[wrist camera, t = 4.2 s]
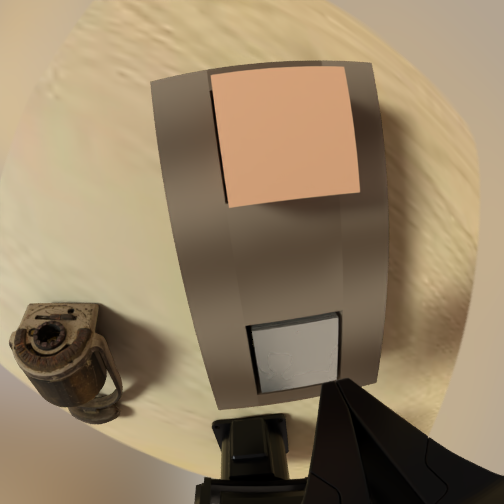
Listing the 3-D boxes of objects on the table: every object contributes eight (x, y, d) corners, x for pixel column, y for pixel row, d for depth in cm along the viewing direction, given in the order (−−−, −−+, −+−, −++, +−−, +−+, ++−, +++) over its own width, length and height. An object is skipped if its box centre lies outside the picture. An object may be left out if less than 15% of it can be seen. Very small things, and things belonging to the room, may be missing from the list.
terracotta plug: (321, 181, 14) (360, 192, 9) (231, 192, 14) (229, 207, 9) (310, 94, 13) (344, 66, 8) (219, 102, 13) (210, 75, 8)
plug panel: (352, 340, 21) (376, 382, 16) (221, 361, 21) (218, 409, 16) (338, 84, 15) (371, 62, 11) (173, 101, 15) (150, 81, 11)
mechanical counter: (146, 374, 15) (-10, 315, 11) (115, 474, 17) (5, 437, 13) (147, 313, 21) (32, 270, 18) (116, 416, 23) (25, 384, 20)
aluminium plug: (318, 336, 20) (336, 379, 16) (256, 346, 20) (261, 392, 16) (315, 280, 19) (338, 317, 14) (248, 290, 19) (251, 331, 14)
